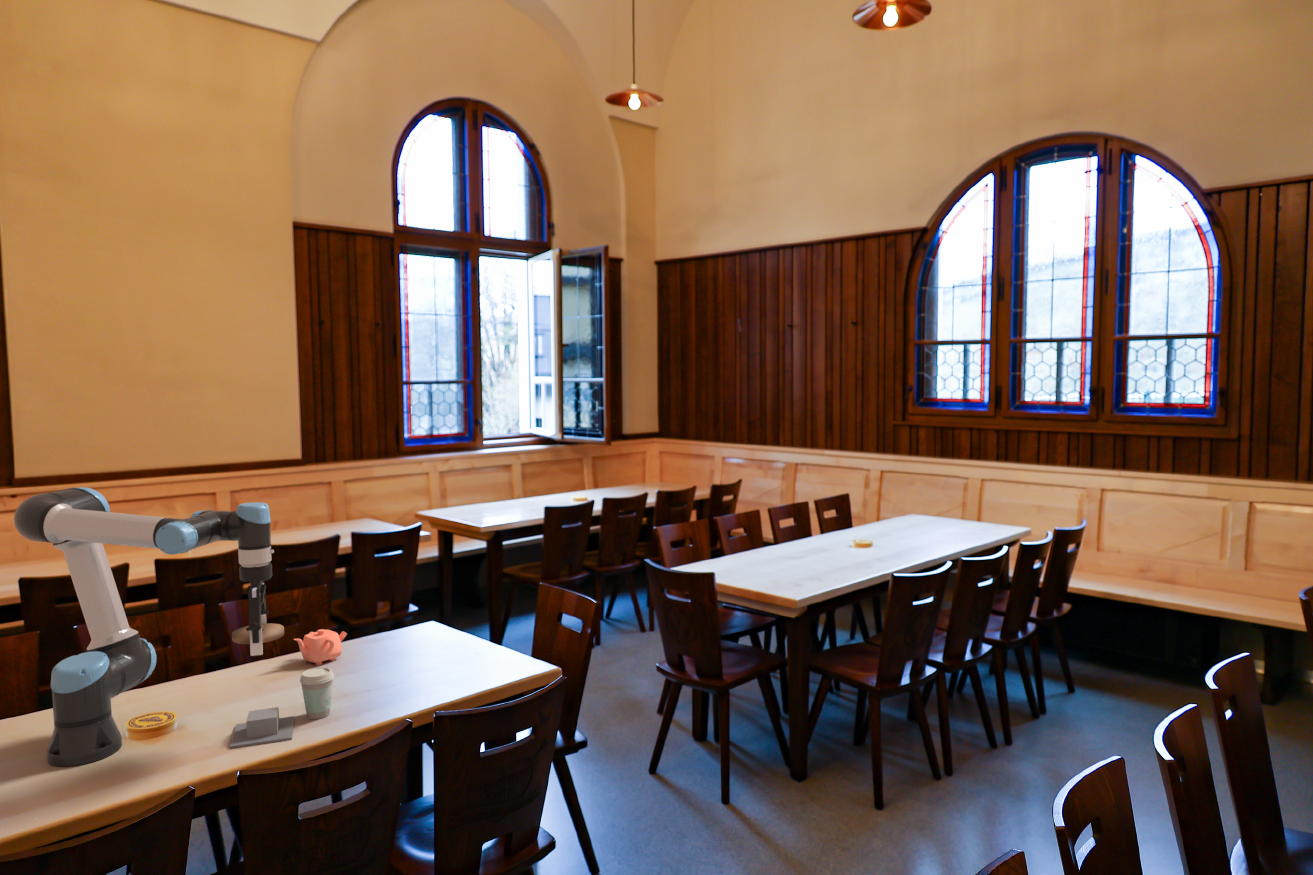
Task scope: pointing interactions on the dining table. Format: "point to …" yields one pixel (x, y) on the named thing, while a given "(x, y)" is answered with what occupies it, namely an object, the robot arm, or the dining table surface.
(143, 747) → the dining table surface
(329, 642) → the teapot
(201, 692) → the dining table surface
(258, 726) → the grey stepped base plate
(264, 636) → the lid
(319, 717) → the coffee cup
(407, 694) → the dining table surface
